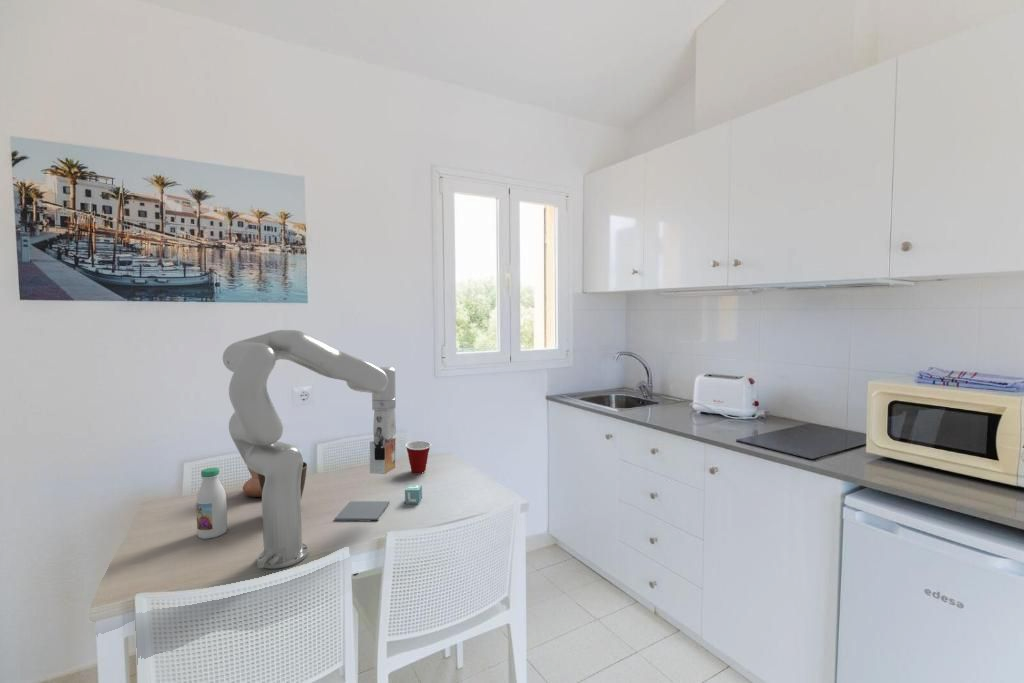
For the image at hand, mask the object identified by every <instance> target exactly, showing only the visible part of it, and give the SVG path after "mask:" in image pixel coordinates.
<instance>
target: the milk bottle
mask: <svg viewBox="0 0 1024 683" xmlns="http://www.w3.org/2000/svg"><path fill="white" fill-rule="evenodd" d="M200 476H201V479H202V480H201V485H200V487H199V490H198V491H197V495H196V505H195V506H196V529H197V530H196V531H197V536H198V538H199V539H205V540H207V539H212V538H217V537H221V536H222V535H224V534H225V533H226V532H227V531H228V508H227V495H226V491H225V490H226V489H225V487H224V486H223V485H222V483H221V481H220V479H219V478H220V477H219V476H220V469H219V467H208V468H207V467H206V468H204V469H202V470H201V473H200Z"/></svg>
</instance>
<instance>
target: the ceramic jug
mask: <svg viewBox="0 0 1024 683" xmlns="http://www.w3.org/2000/svg"><path fill="white" fill-rule="evenodd" d="M246 467H247V470H248V472H249V474H250V475H251V477H250V478H249V479H248V480H246V481H245V483H244V484H243V486H242V491H243V493H244V494H245V495H246V496H249V497H254V498H262V490H261V487H260V483H259V478H258V473H256V472H254V471H252V470H251V469H250V468H249V467H248V466H247V465H246Z"/></svg>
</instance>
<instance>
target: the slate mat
mask: <svg viewBox="0 0 1024 683" xmlns="http://www.w3.org/2000/svg"><path fill="white" fill-rule="evenodd" d="M389 503H390V501H386V500H385V501H381V500H380V501H379V500H378V501H376V500H375V501H371V500H370V501H360V500H358V501H354V500H352V501H349V502H348V503H347V504H346V505H345V506H344V508H342V510H341V511H340V512H339V513H338V514H337V515H336V516H335V518H334V521H335V522H350V521H349V520H378V519H379V520H380V518H381V517H382V515H383V514H384V512H385V511H386V510H385V509H387V508H388V507H389V505H390V504H389ZM388 504H389V505H388ZM387 506H388V507H387ZM386 507H387V508H386ZM384 510H385V511H384ZM383 511H384V512H383ZM382 513H383V514H382ZM381 514H382V515H381ZM380 516H381V517H380ZM379 517H380V518H379ZM379 520H378V521H379Z"/></svg>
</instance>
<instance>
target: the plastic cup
mask: <svg viewBox="0 0 1024 683" xmlns="http://www.w3.org/2000/svg"><path fill="white" fill-rule="evenodd" d="M431 447H432V444H431V442H429V441H425V440H424V441H423V440H415V441H414V440H412V441H409V442H407V443H406V444H405V448H406V450H407V451H406V452H407V456H408V457H407V458H408V460H409V465H410V466H409V467H410V471H411V473H412V472H413V473H412V474H414V473H420V474H423V473H422V472H424V471H425V472H426V470H427V464H428V457H429V451H430V448H431ZM425 472H424V473H425Z"/></svg>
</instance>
